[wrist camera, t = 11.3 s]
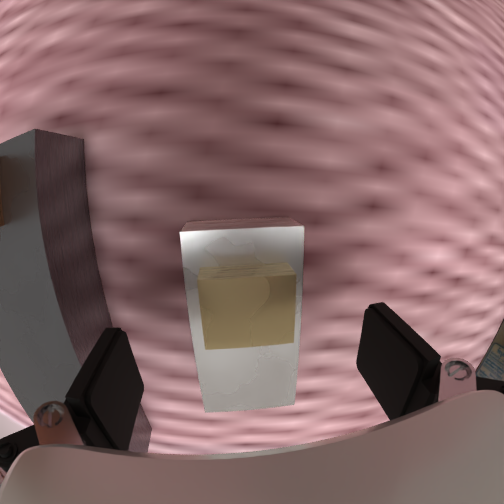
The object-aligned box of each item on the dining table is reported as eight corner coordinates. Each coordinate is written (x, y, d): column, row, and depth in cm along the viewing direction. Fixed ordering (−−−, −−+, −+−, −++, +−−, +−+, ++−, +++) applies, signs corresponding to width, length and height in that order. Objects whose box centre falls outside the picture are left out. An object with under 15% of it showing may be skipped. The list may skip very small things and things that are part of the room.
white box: (188, 220, 14) (173, 240, 9) (287, 216, 14) (316, 233, 10) (206, 379, 16) (204, 432, 12) (283, 373, 17) (300, 423, 12)
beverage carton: (523, 320, 20) (555, 341, 14) (446, 437, 24) (467, 465, 18) (505, 310, 19) (545, 337, 12) (414, 445, 23) (437, 479, 17)
